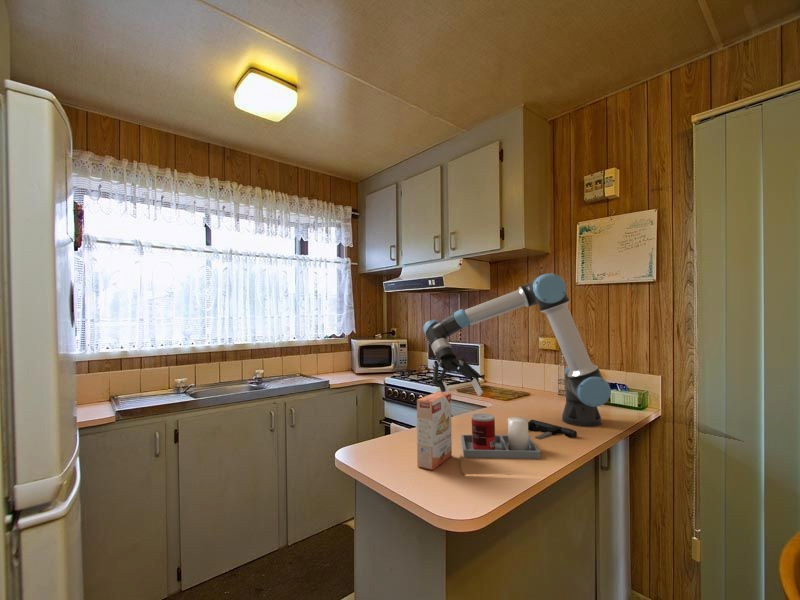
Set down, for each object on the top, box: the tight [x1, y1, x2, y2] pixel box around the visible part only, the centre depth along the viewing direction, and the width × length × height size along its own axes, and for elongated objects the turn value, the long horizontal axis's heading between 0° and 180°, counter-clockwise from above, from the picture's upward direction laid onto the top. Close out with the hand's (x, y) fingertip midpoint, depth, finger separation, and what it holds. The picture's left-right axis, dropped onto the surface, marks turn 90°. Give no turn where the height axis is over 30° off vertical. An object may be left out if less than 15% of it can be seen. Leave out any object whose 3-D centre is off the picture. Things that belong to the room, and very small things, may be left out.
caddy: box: [460, 434, 542, 460], centre depth 130 cm, size 24×16×3 cm, turn 84°
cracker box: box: [416, 391, 453, 471], centre depth 122 cm, size 14×6×21 cm, turn 148°
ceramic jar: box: [507, 416, 530, 451], centre depth 129 cm, size 7×7×10 cm
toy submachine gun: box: [528, 419, 578, 440], centre depth 147 cm, size 3×20×16 cm
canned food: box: [471, 412, 496, 450], centre depth 131 cm, size 8×8×11 cm
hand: (465, 396), depth 140 cm, fingers open, 13 cm apart
